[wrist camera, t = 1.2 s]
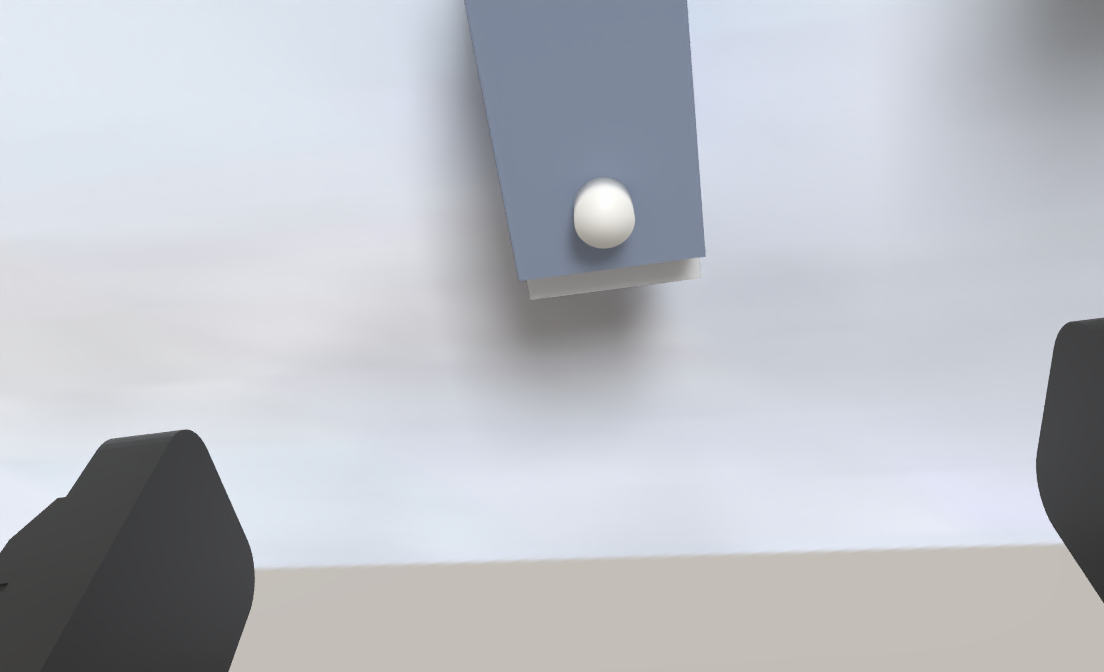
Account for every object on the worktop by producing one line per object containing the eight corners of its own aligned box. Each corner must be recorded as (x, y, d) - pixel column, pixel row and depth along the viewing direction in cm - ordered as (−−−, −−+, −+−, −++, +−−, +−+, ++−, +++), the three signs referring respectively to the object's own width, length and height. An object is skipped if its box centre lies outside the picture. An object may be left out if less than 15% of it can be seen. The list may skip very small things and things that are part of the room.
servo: (644, -200, 20) (678, -185, 15) (678, 197, 25) (714, 326, 19) (466, -169, 21) (430, -142, 15) (534, 217, 26) (527, 349, 20)
